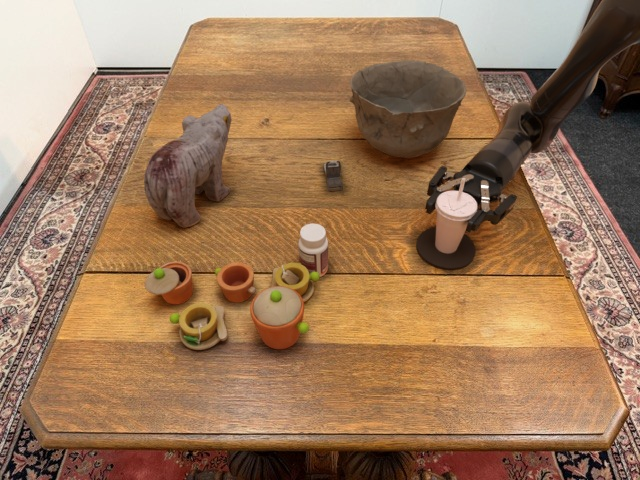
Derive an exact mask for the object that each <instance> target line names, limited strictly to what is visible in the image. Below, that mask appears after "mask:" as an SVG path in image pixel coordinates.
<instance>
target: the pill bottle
mask: <svg viewBox="0 0 640 480" xmlns="http://www.w3.org/2000/svg"><path fill="white" fill-rule="evenodd" d="M297 242H298V243H297V245H298V246H297V247H298V259H299V263H301V265H303V266H305V267H306V268H307V269H308V271H309V274H311V273H312V272H318V273H319V276H320V278H321V277H323V276H325V274H327V272H328V270H329V240H328V238H327V230H326V229H325V227H324V226H323V225H322V224H319V223H307V224H305V225H303V226H302V228H301V229H300V231H299V239H298V241H297Z"/></svg>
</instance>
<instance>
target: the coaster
mask: <svg viewBox="0 0 640 480" xmlns="http://www.w3.org/2000/svg"><path fill="white" fill-rule="evenodd" d="M435 241H436V226H432V227H428V228H426V229H424V230H423V231H422V232H420V234H419V235H418V236H417V238H416V241H415V249H416V252H417V254H418V256H419V257H420V258H421V259H422V261H423V262H425V263H426V264H428V265H429V266H431V267H433V268H436V269H439V270H443V271H458V270H461V269H464V268H466V267H468V266H469V265H470V264H472V262H473V261H474V259H475V256H476V253H477V252H476V251H477V249H476V245H475V243H474V241H473V240H472V238H471V237H470V236H469V235H468V234H466V232H465V233H464V235H463V237H462V239H461V241H460V243H459V245H458V247H457V250H456V251H455V252H453V253H443V252H441V251H439V250H438V249H437V248H436V246H435Z"/></svg>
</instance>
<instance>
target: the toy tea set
mask: <svg viewBox="0 0 640 480" xmlns="http://www.w3.org/2000/svg"><path fill="white" fill-rule="evenodd" d="M214 276H215V277H216V282H217V284H218V286H219V288H220V290H221V292H222V293H223V296H224V298H225V299H226V300H228V301H229V302H232V303H243V302H244V301H247V300H248V299H249V298H251V296H252V294H253V295H254V294H255V293H256V292H257V289H256V287H254V284H255V283H254V282H255V281H254V280H255V272H254V270H253V268H252V267H251V266H250V265H249V264H247V263H245V262H241V261H240V262H238V261H235V262H230V263H228V264H226V265H224V266H222V267H217V268H216V269H215V270H214ZM320 278H321V277H320V276H319V273H318V272H312V273H311V274H309V271H308V269H307V268H306V267H305V266H303V265H301V263H300V262H288V263H285V264H281V266H280V267H274V268H273V270H272V277H271V285H270V287H267V288H265V289H263V290H261V291H260V292H258V293H257V294H256V295H255V296H254V298H253V300H252V301H251V303H250V309H249V312H250V317H251V319H252V322H253V324H254V326H255V328H256V330H257V332H258V335H259V336H260V338H261V341H262V343H264V344H265V345H266V346H267V347H269V348H271V349H273V350H285V349H288V348H290V347H292V346H294V344H296V342H298V340H299V338H300V334H307V333H308V332H309V331H310V326H309V324H308V323H307V322H305V321H303V320H304V316H305V315H304V313H305V302H307V301H308V300H309V299H311V297H312V296H313V293H314V291H315V285H314V282H318V281H319V280H320ZM144 288H145V290H146V292H148V293H149V294H152V295H160V296H161V297H162V298H163V299H164V301H165V302H166V303H168V304H171V305H181V304H183V303H185V302H186V301H187V302H188V300H189V299H191V297H192V295H193V293H194V285H193V272H192V269H191V267H190V266H189V265H188V264H187V263H185V262H182V261H169V262H167V263H164V264H162V265H160V266H159V267H158V268H155V270H153V271H152V272H150V273H149V274H148V275H147V277H146V279H145V280H144ZM225 316H226V310H225V307H223V305H216V306H215V307H214V306H213V305H212V304H210V303H207V302H195V303H192V304H190V305H188V306H187V307H186V308H184V309H183V310H182V312H181V313H177V312H174V313H171V315H170V316H169V322H170V323H171V324H174V325H178V324H179V326H180V327H179V338H180V341H181V342H182V344H183V345H184V346H185V347H187V348H188V349H190V350H195V351H202V350H207V349H210V348H212V347H214V346H215V345H217V344H218V343H220V341H222V342H224V341H227V339H228V336H229V335H228V330H227V327H226V322H225Z"/></svg>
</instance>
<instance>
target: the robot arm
mask: <svg viewBox="0 0 640 480" xmlns="http://www.w3.org/2000/svg"><path fill="white" fill-rule="evenodd" d="M633 45H640V0H601V1H600V2H599V4H598V5H597V7H596V9H595V10H594V12H593V14H592V15H591V17H590V19H589V20H588V22H587V24H586V25H585V27H584V28H583V30H582V31H581V32H580V34H579V36H578V38H577V39H576V41H575V42H574V44H573V46H572V48H571V49H570V51H569V52H568V54H567V55H566V57H565V58H564V60H563V61H562V62H561V63H560V65H559V66H558V67H557V68H556V70H554V72H553V73H552V74H551V75H550V77H548V78H547V80H546V81H545V82H544V83H543V84H542V85H541V86H540V87H539V88H538V89H537V91H536V92H535V93H534V94H533V95H532V97H531V99H530V102H527V101H518V102H515V103H514V104H512V105H511V106H510V107H508V109H506V111H505V112H504V114H503V115H502V117H501V119H500V122H499V125H498V128H497V132H496V135H495V136H494V137H493V138H492V139H491V140H490V141H489V142H487V144H485V145H484V146H483V147H482V148H481V149H479V151H477V153H476V154H475V155H474V156H472V158H471V159H470V160H469V161H468V162H467V163H466V164H465V165H464V167H462V170H460V171H457V172H455V173H453V172H451V171H448V167H447V166H445V165H441V166H440V167H439V168H438V169H437V171H436V172H435V173H434V175H433V176H432V177H431V179H430V180H429V182H428V186H427V190H426V195H427V196H428V198H427V199H426V202H425V207H424V209H425V213H426V214H427V215H432V213H434V211H435V210H436V205H435V204H436V201H437V198H438V196H439V195H440V194H442V193H444V192H446V191H459V188H460V184H461V180H462V178H465V179H466V180H465V184H464V188H463V192H464V193H467V194H469V195H470V196H472V197H473V198H474V199H475V201H476V202H477V211H476V213H475V214H474V216H473V217H472V218H471V219H470V220H469V222H468V224H467V228H466V231H465V233H466V232H467V233H468V234H471V233H472V232H474V233H475V232H477V231H478V230H479V228H481V226H482V225H483V224H484V223H485V222H490V224H491V225H493V226H497V225H498V224H499V223H501V222H502V221H503V220H504V219H505V218H506V217H507V216H508V215H509V214H510V213H511V212H512V211H513V210H514V207H515V205H516V201H517V200H518V196H517V194H513V193H511V194H508V195H506V194H504V193H503V191H504V189H505V188H506V187H507V186H508V185H509V184H510V182H511V181H513V179H514V178H515V177H516V175H517V173H518V171H519V170H520V168H521V166H522V165H523V164H524V163H525V161H526V160H527V159H528V158H529V156H530V155H531V154H539V153H542V152H544V151H545V150H546V149H548V148H549V147H550V146H551V145H552V143H553V141H554V140H555V138H556V137H557V134H558V132H559V131H560V128H561V127H562V124H563V123H564V122H565V120H566V119H567V118H568V117H569V116H570V115H571V114H572V113H574V112H575V111H576V110H577V109H578V108H579V107H581V105H582V104H583V103H584V102H585V101H587V99H588V98H589V97H590V96H591V94H592V93H593V91H594V89H596V85H597V82H598V78H599V73H600V71H601V69H602V68H603V67H604V66H605V65H606V64H607V63H608V62H609V61H611V60H612V59H613V58H614V57H616V56H617V55H619V54H620V53H621V52H623V51H624V50H626V49H628V48H629V47H631V46H633ZM496 202H499V204H498V205H497V206H496V208H494V209H491V208H490V204H492V203H496Z"/></svg>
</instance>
